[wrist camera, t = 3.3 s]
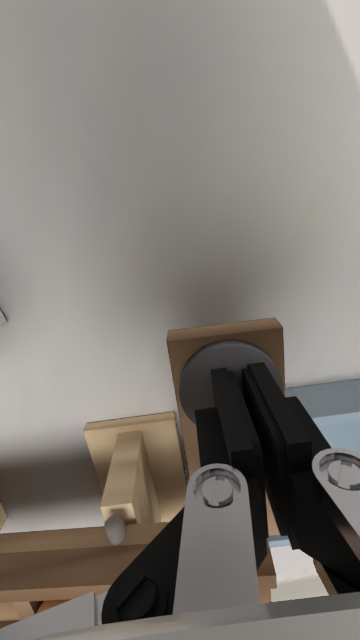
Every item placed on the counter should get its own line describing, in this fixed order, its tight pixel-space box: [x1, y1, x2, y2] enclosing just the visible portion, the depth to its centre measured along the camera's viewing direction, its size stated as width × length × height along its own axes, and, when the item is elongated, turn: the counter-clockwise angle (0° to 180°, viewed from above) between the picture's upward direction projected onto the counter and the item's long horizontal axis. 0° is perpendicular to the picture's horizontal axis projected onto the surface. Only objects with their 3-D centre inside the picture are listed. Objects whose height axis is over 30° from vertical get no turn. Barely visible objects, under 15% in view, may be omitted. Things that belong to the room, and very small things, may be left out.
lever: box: [0, 318, 285, 629], centre depth 14 cm, size 17×21×3 cm
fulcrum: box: [83, 412, 187, 525], centre depth 20 cm, size 9×6×6 cm, turn 8°
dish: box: [267, 379, 360, 548], centre depth 21 cm, size 10×10×4 cm
